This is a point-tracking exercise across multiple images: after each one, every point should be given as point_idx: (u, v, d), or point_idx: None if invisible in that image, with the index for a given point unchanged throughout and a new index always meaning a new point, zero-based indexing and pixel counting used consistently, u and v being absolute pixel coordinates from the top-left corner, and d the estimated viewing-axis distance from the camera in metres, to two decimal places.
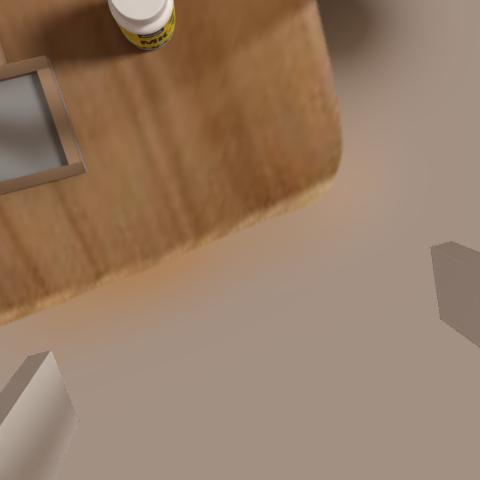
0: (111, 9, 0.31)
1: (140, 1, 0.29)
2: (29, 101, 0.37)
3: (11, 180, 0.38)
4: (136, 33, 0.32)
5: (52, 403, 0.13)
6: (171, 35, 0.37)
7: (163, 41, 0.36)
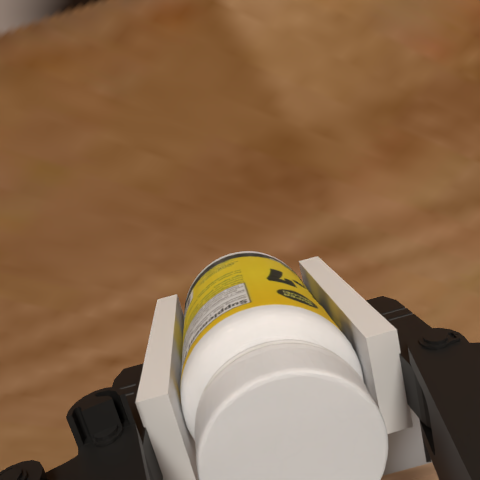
0: None
1: (333, 451, 0.09)
2: None
3: None
4: None
5: None
6: (282, 263, 0.16)
7: None
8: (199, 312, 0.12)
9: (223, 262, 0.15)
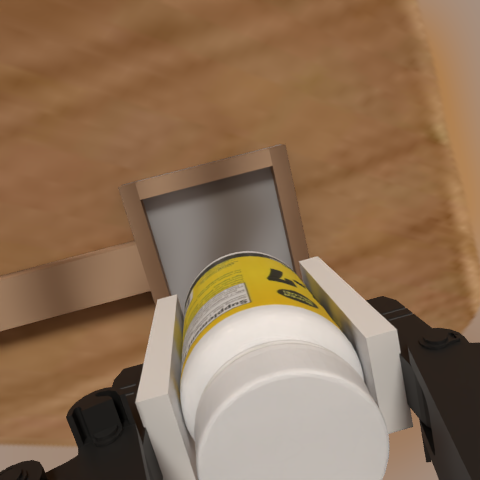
0: None
1: (334, 452, 0.09)
2: (183, 216, 0.26)
3: (292, 246, 0.27)
4: None
5: None
6: (282, 263, 0.16)
7: None
8: (199, 312, 0.12)
9: (223, 262, 0.15)
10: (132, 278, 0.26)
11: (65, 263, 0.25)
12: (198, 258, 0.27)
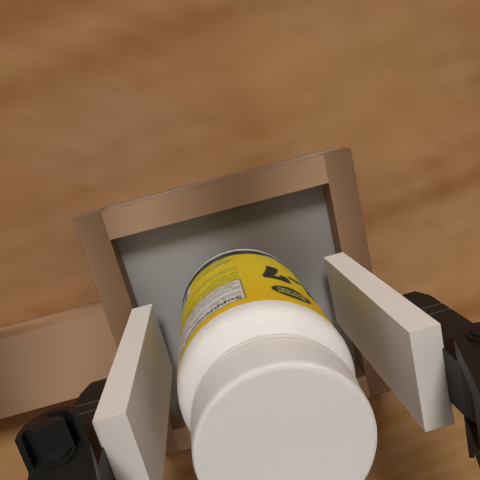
0: None
1: (324, 441, 0.09)
2: (182, 262, 0.16)
3: None
4: None
5: (159, 347, 0.15)
6: (278, 260, 0.16)
7: None
8: (196, 308, 0.13)
9: (220, 259, 0.15)
10: (99, 364, 0.16)
11: None
12: None
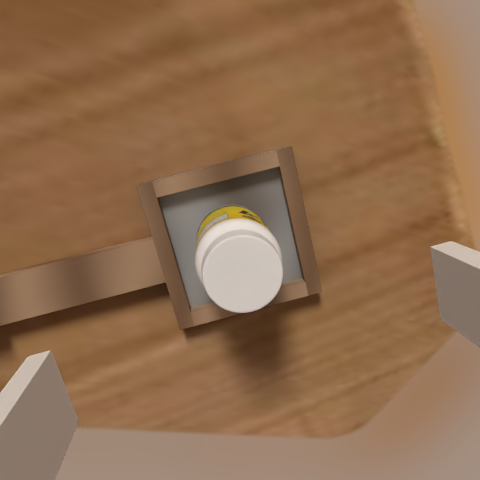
0: None
1: (259, 272, 0.21)
2: (196, 212, 0.28)
3: (298, 242, 0.29)
4: None
5: (52, 403, 0.13)
6: (251, 211, 0.28)
7: None
8: (204, 228, 0.25)
9: (218, 209, 0.27)
10: (149, 270, 0.28)
11: (87, 256, 0.28)
12: None
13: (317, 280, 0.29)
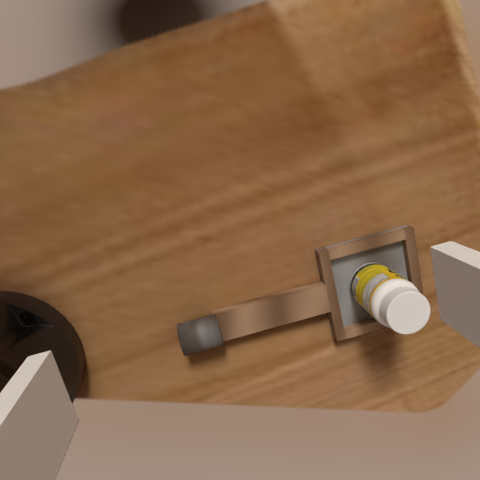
0: None
1: (417, 311, 0.37)
2: (350, 267, 0.45)
3: None
4: None
5: (52, 403, 0.13)
6: None
7: None
8: (369, 281, 0.41)
9: (367, 266, 0.44)
10: (321, 304, 0.44)
11: (284, 296, 0.44)
12: None
13: None
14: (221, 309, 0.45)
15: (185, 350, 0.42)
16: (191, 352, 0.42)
